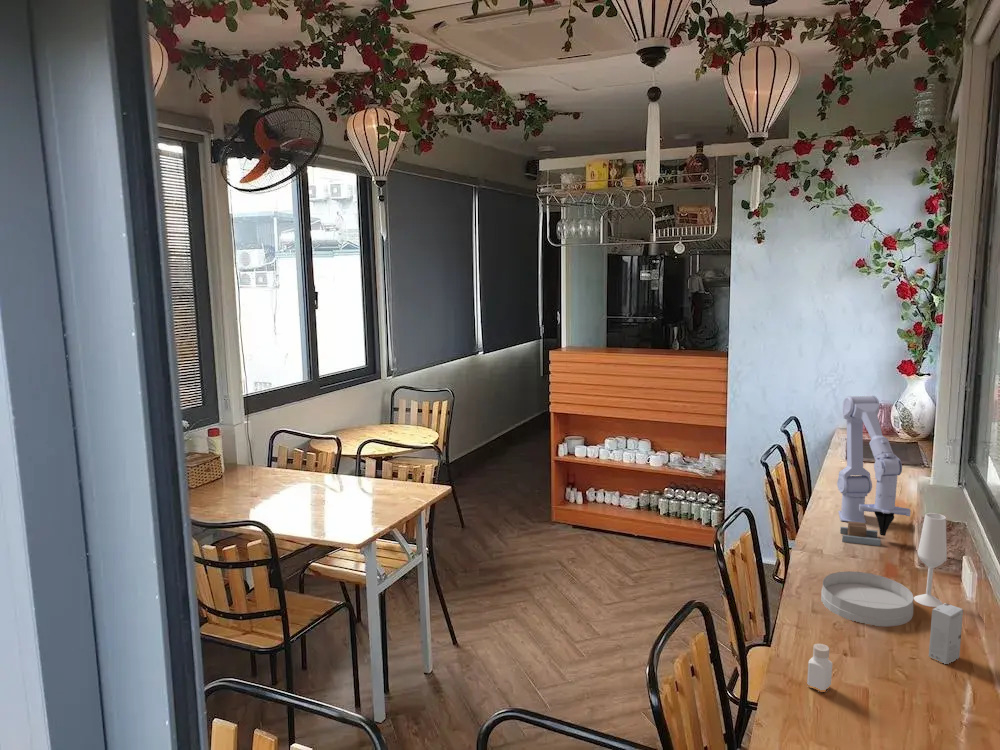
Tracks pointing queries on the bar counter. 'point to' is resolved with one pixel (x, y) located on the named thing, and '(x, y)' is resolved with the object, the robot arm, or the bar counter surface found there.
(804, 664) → the bar counter surface
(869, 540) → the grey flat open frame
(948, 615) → the skincare box
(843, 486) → the robot arm
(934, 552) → the champagne flute
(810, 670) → the pepper shaker
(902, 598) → the dish
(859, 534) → the walnut block
